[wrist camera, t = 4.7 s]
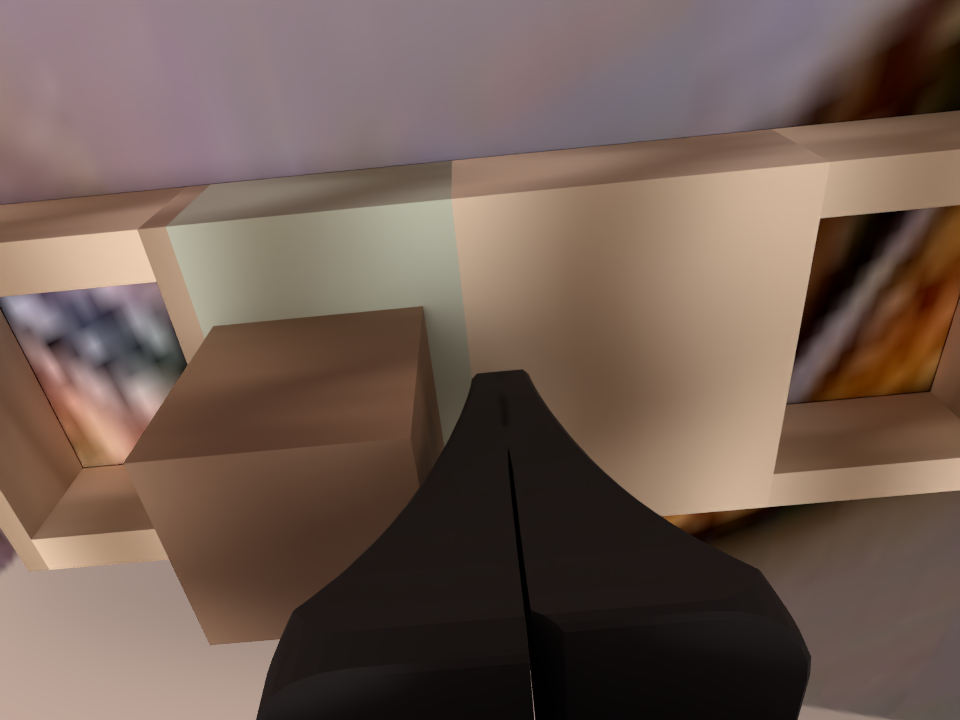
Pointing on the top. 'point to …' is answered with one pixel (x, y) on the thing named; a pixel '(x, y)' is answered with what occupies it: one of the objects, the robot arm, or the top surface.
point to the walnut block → (286, 459)
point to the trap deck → (522, 309)
